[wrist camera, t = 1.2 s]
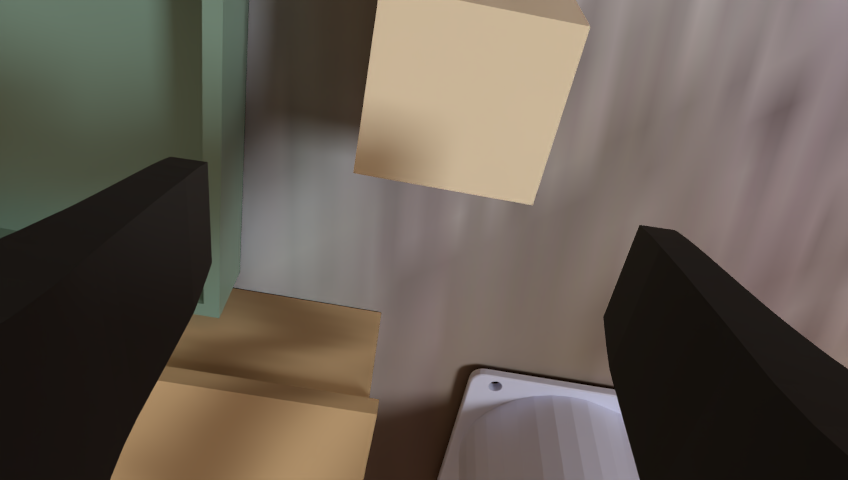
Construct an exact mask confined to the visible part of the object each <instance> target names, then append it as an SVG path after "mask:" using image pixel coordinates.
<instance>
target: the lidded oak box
mask: <svg viewBox="0 0 848 480" xmlns="http://www.w3.org/2000/svg"><path fill="white" fill-rule="evenodd" d="M380 318H381V313H380V312H374V311H368V310H362V309H356V308H350V307H344V306H338V305H332V304H326V303H320V302H314V301H308V300H302V299H296V298H289V297H283V296H277V295H271V294H265V293H259V292H253V291H247V290H241V289H235V288H232V291H231V293H230V295H229V297H228V300H227V302H226V304H225V306H224V309H223V311H222V313H221V315H220V318H214V317H208V316H202V315H196V314H193V315H192V317H191V319H190V321H189V323H188V325H187V327H186V329H185V331H184V333H183V334H182V336H181V338H180V340H179V342H178V344H177V346H176V348H175V350H174V351H173V353H172V355H171V357H170V359H169V361H168V362H167V364H166V366H165V368H164V370H163V372H162V374H161V375H160V377H159V379H158V381H157V383H156V385H155V386H154V388H153V390H152V392H151V394H150V396H149V398H148V399H147V401H146V403H145V405H144V407H143V409H142V411H141V412H140V414H139V416H138V418H137V420H136V422H135V424H134V426H133V428H132V430H131V432H130V434H129V436H128V438H127V440H126V443H125V445H124V447H123V449H122V452H121V454H120V457H119V459H118V462H117V464H116V467H115V469H114V471H113V474H112V476H111V479H110V480H363V479H364V474H365V469H366V464H367V460H368V455H369V450H370V446H371V441H372V436H373V431H374V427H375V422H376V417H377V411H378V403H379V399H373V398H369V395H370V388H371V381H372V374H373V367H374V360H375V353H376V346H377V339H378V332H379V325H380Z"/></svg>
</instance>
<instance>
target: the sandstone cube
mask: <svg viewBox="0 0 848 480" xmlns="http://www.w3.org/2000/svg"><path fill="white" fill-rule="evenodd" d="M589 29H590V25H589V23H588V21H587V20H586V18H585V16H584V14H583V12H582V11H581V9H580V7H579V5H578V4H577V2H576V0H378V4H377V11H376V18H375V25H374V32H373V39H372V46H371V53H370V60H369V67H368V74H367V81H366V88H365V95H364V102H363V110H362V117H361V124H360V131H359V138H358V145H357V152H356V159H355V166H354V173H357V174H362V175H368V176H373V177H379V178H384V179H390V180H395V181H401V182H406V183H412V184H418V185H423V186H429V187H434V188H440V189H445V190H451V191H456V192H462V193H467V194H473V195H479V196H484V197H490V198H495V199H501V200H506V201H512V202H517V203H523V204H528V205H533V202H534V199H535V196H536V193H537V190H538V187H539V184H540V181H541V178H542V175H543V172H544V168H545V165H546V162H547V159H548V156H549V153H550V150H551V147H552V144H553V141H554V138H555V134H556V131H557V128H558V125H559V122H560V119H561V116H562V113H563V110H564V107H565V104H566V101H567V97H568V94H569V91H570V88H571V85H572V82H573V79H574V76H575V73H576V70H577V67H578V63H579V60H580V57H581V54H582V51H583V48H584V45H585V42H586V39H587V36H588V33H589Z"/></svg>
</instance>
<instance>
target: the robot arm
mask: <svg viewBox="0 0 848 480" xmlns="http://www.w3.org/2000/svg"><path fill="white" fill-rule="evenodd" d="M211 264H212V250H211V227H210V204H209V181H208V162H204V161H197V160H191V159H184V158H177V157H168V158H165V159H163V160H160V161H158V162H156V163H154V164H152V165H150V166H148V167H146V168H144V169H142V170H140V171H138V172H136V173H134V174H133V175H131V176H129V177H127V178H125V179H123V180H121V181H119V182H117V183H115V184H113V185H112V186H110V187H108V188H106V189H104V190H102V191H100V192H98V193H96V194H94V195H92V196H90V197H88V198H86V199H84V200H82V201H80V202H78V203H76V204H74V205H72V206H70V207H68V208H66V209H64V210H62V211H59V212H57V213H55V214H53V215H51V216H49V217H46V218H44V219H42V220H40V221H38V222H36V223H33V224H31V225H29V226H27V227H25V228H23V229H20V230H18V231H16V232H14V233H11V234H9V235H7V236H4V237H2V238H0V480H110V479H111V476H112V474H113V471H114V469H115V467H116V464H117V462H118V459H119V457H120V454H121V452H122V449H123V447H124V445H125V443H126V440H127V438H128V436H129V434H130V432H131V430H132V428H133V426H134V424H135V422H136V420H137V418H138V416H139V414H140V412H141V411H142V409H143V407H144V405H145V403H146V401H147V399H148V398H149V396H150V394H151V392H152V390H153V388H154V386H155V385H156V383H157V381H158V379H159V377H160V375H161V374H162V372H163V370H164V368H165V366H166V364H167V362H168V361H169V359H170V357H171V355H172V353H173V351H174V350H175V348H176V346H177V344H178V342H179V340H180V338H181V336H182V334H183V333H184V331H185V329H186V327H187V325H188V323H189V321H190V319H191V317H192V315H193V313H194V311H195V309H196V306H197V303H198V301H199V298H200V295H201V293H202V290H203V287H204V284H205V282H206V279H207V276H208V273H209V270H210V267H211ZM603 318H604V328H605V337H606V347H607V354H608V361H609V368H610V372H611V376H612V380H613V384H614V388H615V390H614V389H608V388H602V387H596V386H590V385H583V384H577V383H571V382H565V381H559V380H552V379H546V378H540V377H534V376H528V375H522V374H515V373H509V372H503V371H497V370H491V369H477V370H474V371H473V372H472V373H471V374H470V376H469V379H468V382H467V386H466V389H465V392H464V395H463V398H462V402H461V405H460V408H459V411H458V414H457V418H456V421H455V424H454V427H453V430H452V434H451V437H450V440H449V443H448V446H447V450H446V453H445V456H444V459H443V462H442V465H441V469H440V472H439V475H438V478H437V480H848V369H847V368H846V367H844V366H843V365H841V364H840V363H838V362H837V361H836V360H834V359H833V358H832V357H830V356H829V355H827V354H826V353H825V352H823V351H822V350H821V349H819V348H818V347H817V346H815V345H814V344H813V343H812V342H810V341H809V340H808V339H806V338H805V337H804V336H802V335H801V334H800V333H799V332H797V331H796V330H795V329H793V328H792V327H791V326H790V325H788V324H787V323H786V322H785V321H783V320H782V319H781V318H780V317H778V316H777V315H776V314H775V313H774V312H772V311H771V310H770V309H769V308H768V307H766V306H765V305H764V304H763V303H762V302H760V301H759V300H758V299H757V298H756V297H755V296H753V295H752V294H751V293H750V292H749V291H748V290H746V289H745V288H744V287H743V286H742V285H741V284H739V283H738V282H737V281H736V280H735V279H734V278H733V277H731V276H730V275H729V274H728V273H727V272H726V271H725V270H723V269H722V268H721V267H720V266H719V265H718V264H717V263H715V262H714V261H713V260H712V259H711V258H710V257H708V256H707V255H706V254H705V253H704V252H703V251H701V250H700V249H699V248H698V247H697V246H695V245H694V244H693V243H692V242H690V241H689V240H688V239H687V238H685V237H684V236H683V235H681V234H680V233H678V232H677V231H675V230H670V229H663V228H656V227H649V226H642V225H639V228H638V230H637V233H636V236H635V238H634V241H633V243H632V246H631V248H630V251H629V253H628V256H627V258H626V261H625V264H624V266H623V269H622V271H621V274H620V276H619V279H618V281H617V284H616V286H615V289H614V292H613V294H612V297H611V299H610V302H609V304H608V307H607V309H606V312H605V314H604V317H603ZM491 382H499V383H496V384H493V383H491Z"/></svg>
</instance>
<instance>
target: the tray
mask: <svg viewBox="0 0 848 480" xmlns="http://www.w3.org/2000/svg"><path fill="white" fill-rule="evenodd" d="M248 11H249V0H0V238H2V237H4V236H7V235H9V234H11V233H14V232H16V231H18V230H20V229H23V228H25V227H27V226H29V225H31V224H33V223H36V222H38V221H40V220H42V219H44V218H46V217H49V216H51V215H53V214H55V213H57V212H59V211H62V210H64V209H66V208H68V207H70V206H72V205H74V204H76V203H78V202H80V201H82V200H84V199H86V198H88V197H90V196H92V195H94V194H96V193H98V192H100V191H102V190H104V189H106V188H108V187H110V186H112V185H113V184H115V183H117V182H119V181H121V180H123V179H125V178H127V177H129V176H131V175H133V174H134V173H136V172H138V171H140V170H142V169H144V168H146V167H148V166H150V165H152V164H154V163H156V162H158V161H160V160H163V159H165V158H168V157H177V158H184V159H191V160H197V161H204V162H208V181H209V204H210V227H211V250H212V264H211V267H210V270H209V273H208V276H207V279H206V282H205V284H204V287H203V290H202V293H201V295H200V298H199V301H198V303H197V306H196V309H195V311H194V313H193V314H196V315H202V316H208V317H214V318H220V315H221V313H222V311H223V309H224V306H225V304H226V302H227V300H228V297H229V295H230V293H231V291H232V288H233V286H234V284H235V282H236V279H237V277H238V275H239V273H240V253H241V222H242V192H243V162H244V132H245V102H246V71H247V41H248Z"/></svg>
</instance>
